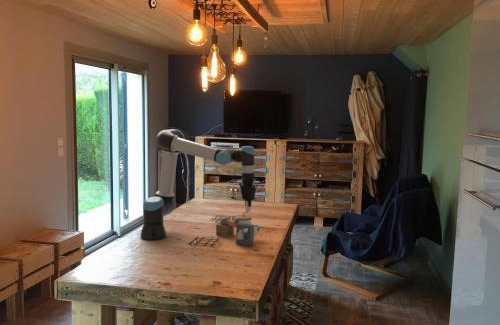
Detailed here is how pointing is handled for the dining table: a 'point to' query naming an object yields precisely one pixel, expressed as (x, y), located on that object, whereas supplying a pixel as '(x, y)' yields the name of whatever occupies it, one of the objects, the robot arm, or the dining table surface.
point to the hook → (246, 232)
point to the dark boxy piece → (250, 239)
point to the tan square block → (224, 230)
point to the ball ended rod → (229, 221)
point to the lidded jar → (244, 219)
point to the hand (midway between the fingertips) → (248, 211)
